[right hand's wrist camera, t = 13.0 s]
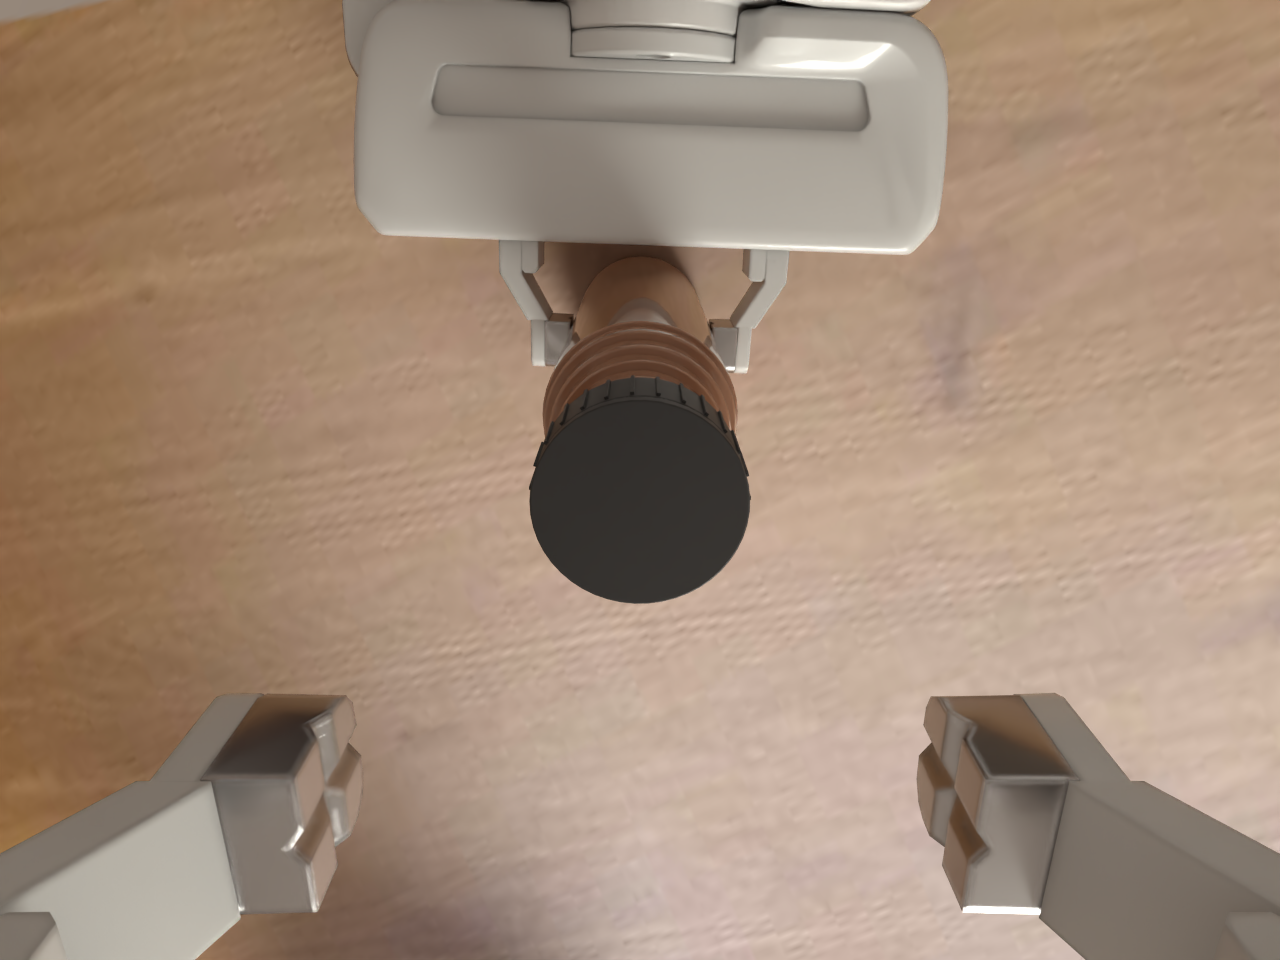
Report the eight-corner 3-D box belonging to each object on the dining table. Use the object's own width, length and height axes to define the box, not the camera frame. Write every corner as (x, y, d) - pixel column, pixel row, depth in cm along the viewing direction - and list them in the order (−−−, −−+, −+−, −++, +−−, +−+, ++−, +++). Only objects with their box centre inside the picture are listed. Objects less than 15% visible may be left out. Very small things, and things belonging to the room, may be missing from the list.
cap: (733, 571, 20) (742, 611, 18) (536, 562, 20) (526, 601, 18) (751, 379, 18) (763, 403, 17) (537, 369, 18) (527, 392, 17)
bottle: (696, 379, 39) (754, 617, 19) (579, 373, 39) (512, 606, 19) (705, 259, 37) (781, 381, 17) (582, 252, 37) (511, 368, 17)
